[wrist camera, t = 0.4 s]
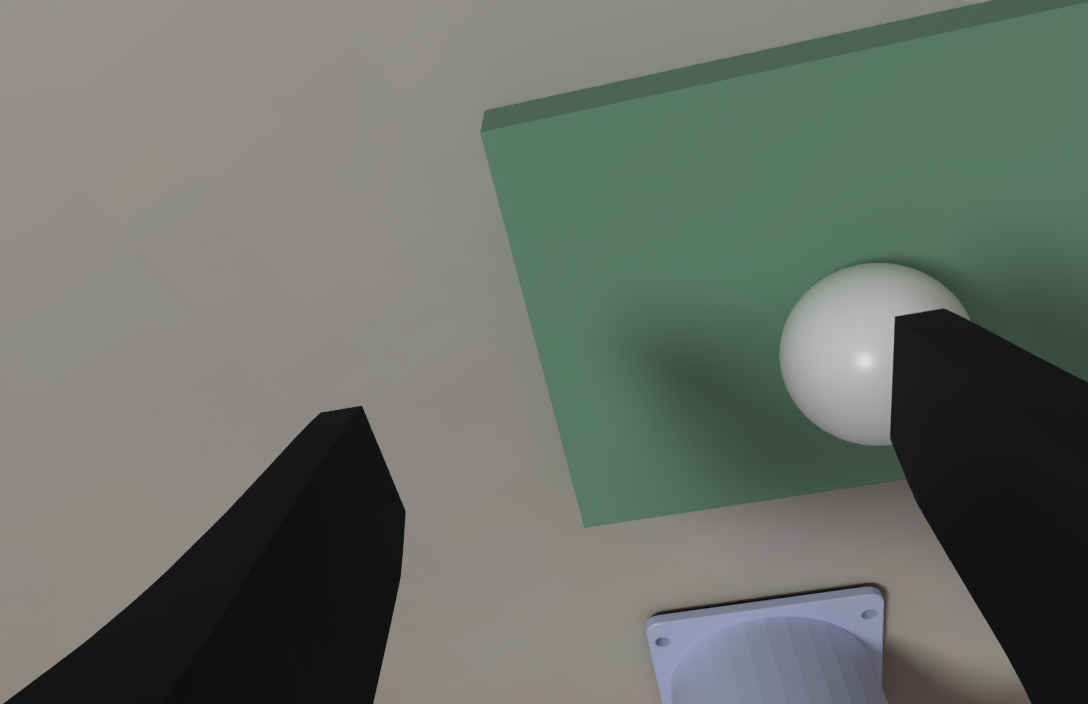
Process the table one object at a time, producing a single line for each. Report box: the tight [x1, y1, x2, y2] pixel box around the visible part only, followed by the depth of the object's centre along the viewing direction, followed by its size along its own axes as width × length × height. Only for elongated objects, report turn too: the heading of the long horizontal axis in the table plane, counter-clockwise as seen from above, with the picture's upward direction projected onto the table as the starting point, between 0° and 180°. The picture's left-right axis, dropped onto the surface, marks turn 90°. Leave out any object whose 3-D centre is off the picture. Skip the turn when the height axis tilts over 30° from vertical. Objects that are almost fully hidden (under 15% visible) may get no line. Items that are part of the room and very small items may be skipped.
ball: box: [779, 263, 971, 446], centre depth 17 cm, size 4×4×4 cm
